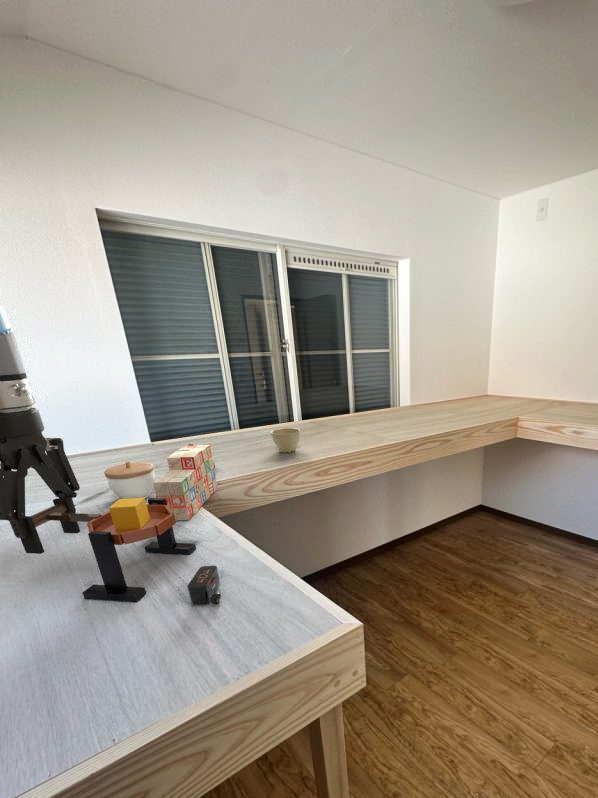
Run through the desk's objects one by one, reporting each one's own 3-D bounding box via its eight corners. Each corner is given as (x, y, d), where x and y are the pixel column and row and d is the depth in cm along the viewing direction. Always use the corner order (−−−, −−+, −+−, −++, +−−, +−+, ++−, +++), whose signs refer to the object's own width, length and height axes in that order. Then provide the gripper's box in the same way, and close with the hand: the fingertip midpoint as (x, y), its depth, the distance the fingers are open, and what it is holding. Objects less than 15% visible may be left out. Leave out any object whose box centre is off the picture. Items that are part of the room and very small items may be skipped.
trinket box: (108, 496, 107) (98, 461, 104) (153, 487, 114) (145, 453, 110) (117, 508, 100) (106, 471, 96) (164, 497, 107) (156, 462, 103)
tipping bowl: (7, 540, 66) (1, 526, 65) (72, 509, 77) (68, 496, 76) (143, 547, 63) (139, 532, 62) (189, 513, 75) (186, 501, 74)
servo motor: (188, 608, 63) (184, 590, 62) (204, 582, 69) (200, 566, 68) (219, 607, 63) (215, 589, 62) (232, 581, 70) (229, 565, 68)
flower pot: (277, 447, 153) (275, 428, 150) (304, 447, 153) (302, 428, 150) (269, 454, 144) (267, 434, 141) (298, 454, 143) (296, 434, 141)
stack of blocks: (189, 521, 93) (178, 468, 88) (160, 522, 92) (148, 469, 88) (218, 488, 112) (210, 443, 108) (194, 489, 112) (185, 444, 107)
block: (115, 530, 67) (108, 507, 66) (125, 520, 71) (119, 498, 69) (141, 528, 68) (135, 506, 66) (150, 518, 72) (144, 497, 70)
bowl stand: (84, 598, 66) (62, 536, 61) (153, 546, 82) (139, 494, 77) (136, 602, 65) (118, 539, 60) (196, 548, 81) (185, 496, 76)
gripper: (-40, 422, 54) (22, 572, 63) (79, 400, 72) (114, 519, 82) (-90, 421, 55) (-22, 570, 64) (40, 399, 73) (79, 518, 82)
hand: (54, 541), depth 73 cm, fingers closed on tipping bowl, 7 cm apart
